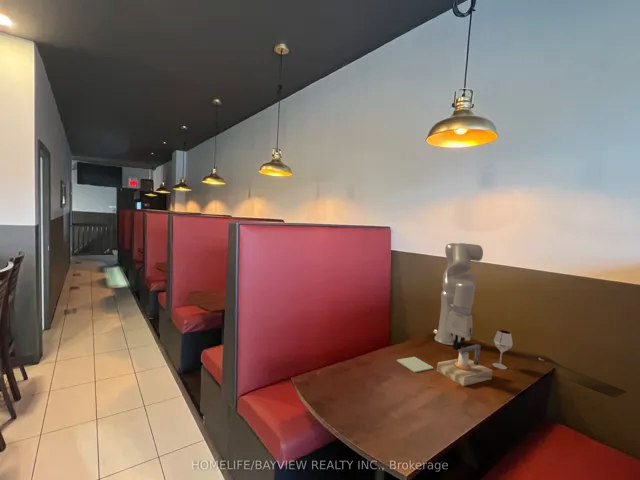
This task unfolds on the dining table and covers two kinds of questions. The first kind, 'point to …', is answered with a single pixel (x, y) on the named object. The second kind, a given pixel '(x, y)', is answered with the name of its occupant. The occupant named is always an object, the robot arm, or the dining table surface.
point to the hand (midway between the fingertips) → (456, 349)
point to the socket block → (464, 372)
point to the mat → (415, 364)
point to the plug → (463, 361)
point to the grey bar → (471, 348)
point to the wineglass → (502, 345)
